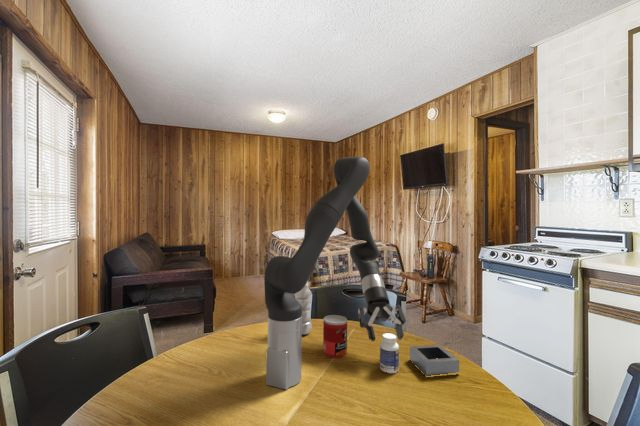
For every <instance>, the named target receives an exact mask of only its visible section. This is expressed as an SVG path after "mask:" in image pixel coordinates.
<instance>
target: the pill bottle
mask: <svg viewBox="0 0 640 426" xmlns="http://www.w3.org/2000/svg"><path fill="white" fill-rule="evenodd" d="M397 340H398V336H397V334H396V335H395V334H394V333H390V332H389V333H387V332H385V333H383V334H382V341H381V342H380V344H379V368H380V370H381V371H382V372H384V373H386V372H387V374H396V373H398V372H399V368H400V367H399V366H400V364H399V363H400V346H399V344H398V343H397ZM397 371H398V372H397Z"/></svg>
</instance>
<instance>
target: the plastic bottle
mask: <svg viewBox="0 0 640 426" xmlns="http://www.w3.org/2000/svg"><path fill="white" fill-rule="evenodd" d="M309 285H310V284H309V280H308V281H307V283H306V285H305V286H304V287H303V289H302V290H301V291H299V292H297V293H294V297H295V299H296V300H297V301H298V302H299V303H300V304H301V306H302V336H304V335H308V334H310V332H311V331H312V321H311V304H312V298H313V297H312V296H313V293H312V291H311V290H310V288H309Z"/></svg>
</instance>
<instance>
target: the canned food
mask: <svg viewBox="0 0 640 426" xmlns="http://www.w3.org/2000/svg"><path fill="white" fill-rule="evenodd" d="M322 323H323V325H322V326H323V328H322V330H323V332H322V333H323V345H322V347H323V349H322V350H323V353H324V354H325V356H327V357H330V358H334V359H335V358H336V359H339V358H343V357H344V356H346V354H347V352H348V319H347V317H346V316H344V315H339V314H329V315H326V316H324V317H323V322H322Z"/></svg>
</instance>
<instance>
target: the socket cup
mask: <svg viewBox="0 0 640 426" xmlns="http://www.w3.org/2000/svg"><path fill="white" fill-rule="evenodd" d="M436 358H438V359H436ZM410 359H411V360H412V362H413V363H414V364H415V365H416V366H417V367H418V368H419V369H420V370H421V371H422V372H423V373H424V374H425V375H426V376H431V375H440V374H448V373H456V372H459V373H460V359H458V358H457V357H456V356H455V355H453V354H452V353H451V352H449V350H447V349H446V348H445V347H443V346H442V345H440V344H433V345H432V344H430V345H429V344H428V345H416V346H409V360H410ZM412 362H411V363H412ZM413 363H412V364H413ZM414 364H413V365H414ZM415 365H414V366H415ZM416 366H415V367H416ZM417 367H416V368H417Z"/></svg>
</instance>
